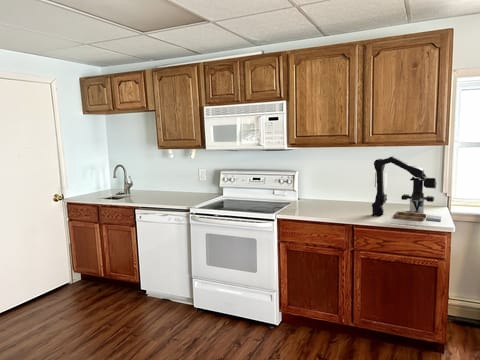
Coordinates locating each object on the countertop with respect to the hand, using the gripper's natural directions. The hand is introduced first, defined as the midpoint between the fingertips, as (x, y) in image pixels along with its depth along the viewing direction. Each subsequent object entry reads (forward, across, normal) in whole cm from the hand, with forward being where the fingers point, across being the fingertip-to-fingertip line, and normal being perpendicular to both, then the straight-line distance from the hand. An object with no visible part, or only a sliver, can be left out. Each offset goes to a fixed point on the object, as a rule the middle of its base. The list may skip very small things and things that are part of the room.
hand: (417, 210), depth 238 cm
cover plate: (+6, +10, +1) cm, 12 cm away
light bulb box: (+6, -3, +19) cm, 20 cm away
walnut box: (+6, -4, 0) cm, 7 cm away
